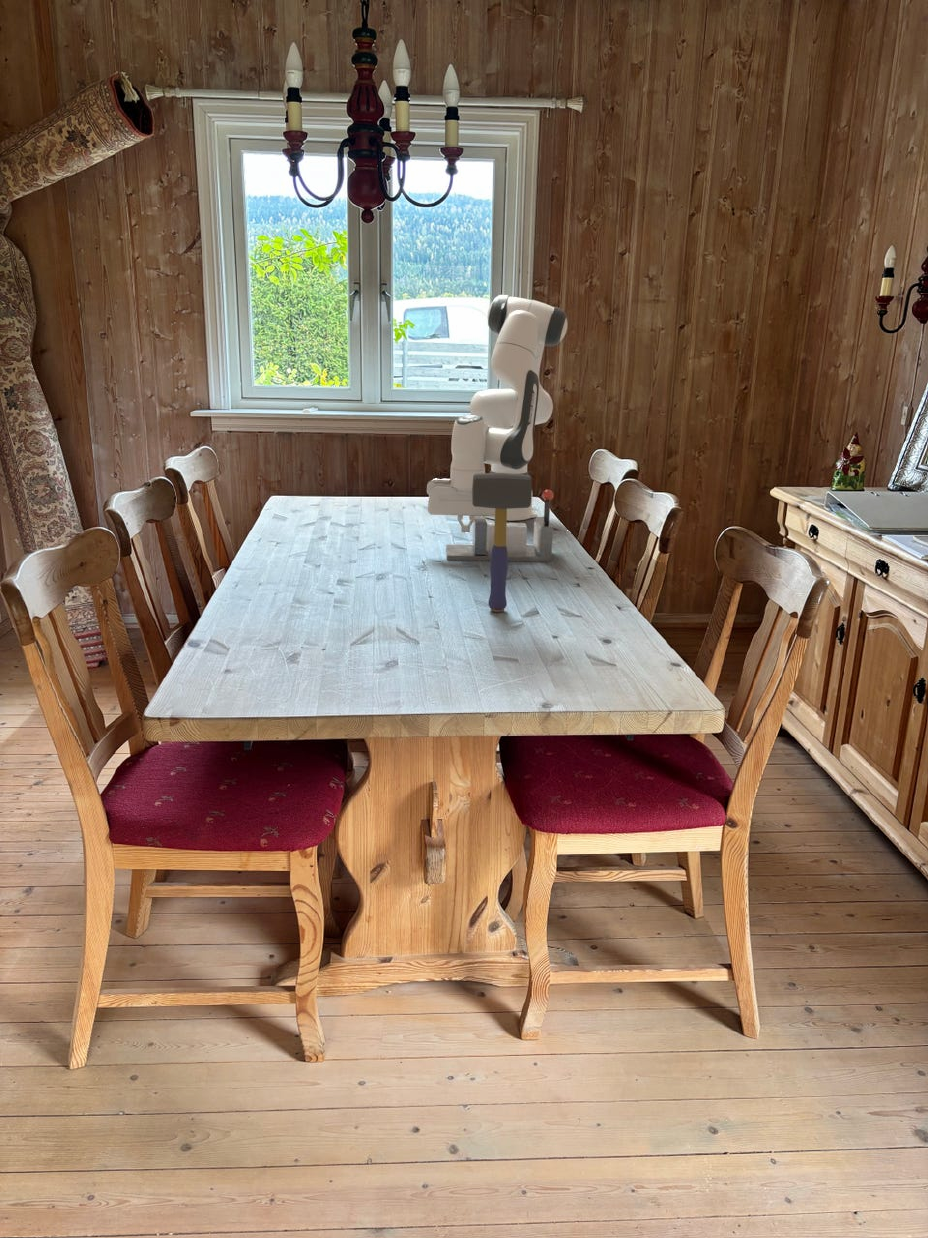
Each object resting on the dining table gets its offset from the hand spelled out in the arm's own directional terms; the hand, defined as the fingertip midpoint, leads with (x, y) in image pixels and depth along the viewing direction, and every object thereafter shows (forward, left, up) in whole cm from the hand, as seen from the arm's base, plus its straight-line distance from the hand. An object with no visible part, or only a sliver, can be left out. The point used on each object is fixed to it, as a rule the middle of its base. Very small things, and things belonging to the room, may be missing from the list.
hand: (465, 532), depth 257 cm
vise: (0, +9, -6) cm, 11 cm away
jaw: (0, +4, -5) cm, 6 cm away
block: (0, +11, -5) cm, 12 cm away
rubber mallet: (+49, +5, -6) cm, 50 cm away
